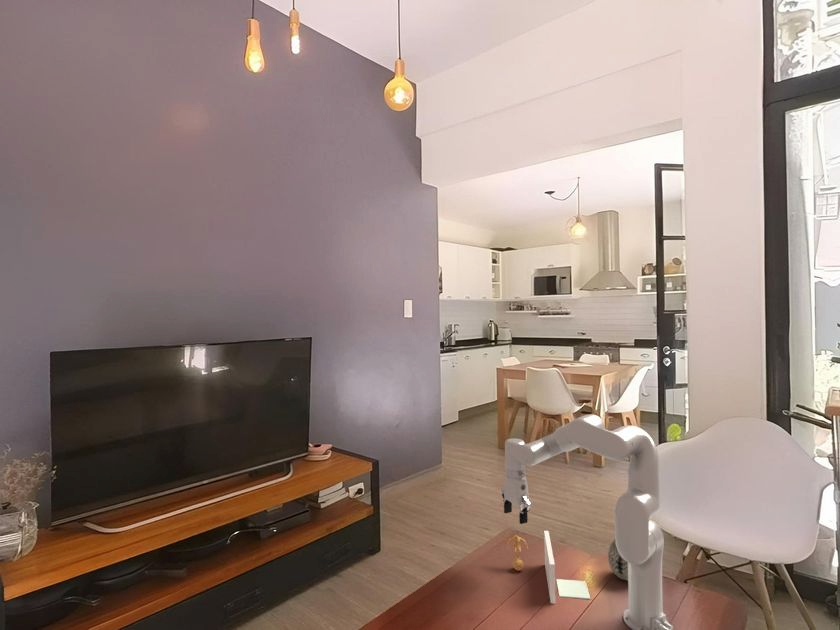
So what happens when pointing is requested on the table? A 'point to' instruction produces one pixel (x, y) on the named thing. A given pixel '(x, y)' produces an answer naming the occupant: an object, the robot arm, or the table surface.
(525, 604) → the table surface
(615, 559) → the decorative egg
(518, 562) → the figurine
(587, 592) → the mat
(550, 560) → the screen
